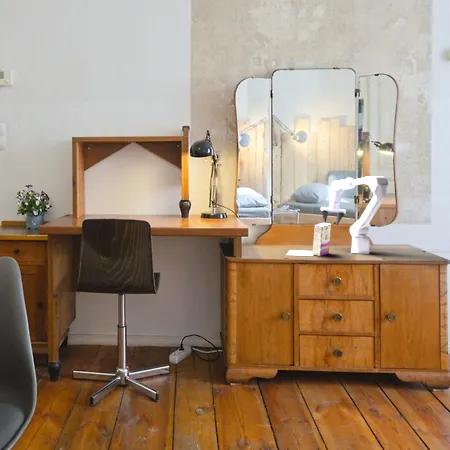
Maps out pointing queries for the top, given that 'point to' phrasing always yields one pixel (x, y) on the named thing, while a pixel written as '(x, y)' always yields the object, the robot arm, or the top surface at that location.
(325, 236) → the candy bar box
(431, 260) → the top surface
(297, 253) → the mat
